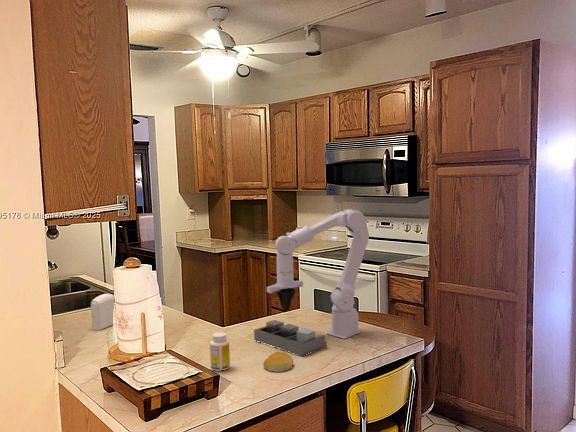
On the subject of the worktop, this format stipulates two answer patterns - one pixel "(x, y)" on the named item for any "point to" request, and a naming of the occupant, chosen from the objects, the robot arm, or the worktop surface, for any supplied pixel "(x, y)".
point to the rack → (287, 338)
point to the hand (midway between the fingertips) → (285, 310)
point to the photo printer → (102, 311)
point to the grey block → (305, 335)
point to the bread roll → (278, 362)
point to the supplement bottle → (219, 352)
